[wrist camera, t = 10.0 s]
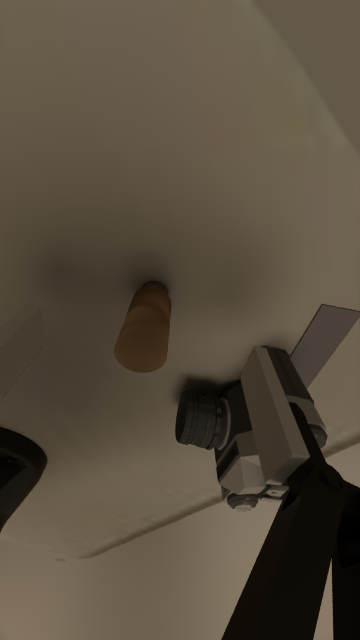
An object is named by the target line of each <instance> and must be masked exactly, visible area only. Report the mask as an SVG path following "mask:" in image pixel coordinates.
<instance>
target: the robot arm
mask: <svg viewBox="0 0 360 640" xmlns="http://www.w3.org/2000/svg"><path fill="white" fill-rule="evenodd" d="M45 343H46V342H45V336H44V329H43V323H42V316H41V310H40V307H34V306H28V305H26V306H25V307H24V308H23V309H22V310H21V311H20V312H19V313H17V314H16V315H15V316H14V317H13V318H12V319H11V320H10V321H9V322H7V323H6V324H5V325H4V326H3V327H2V328H1V329H0V401H1V400H2V399H3V398H4V396H5V395H6V394H7V392H8V391H9V390H10V389H11V387H12V386H13V385H14V383H15V382H16V381H17V380H18V378H19V377H20V376H21V374H22V373H23V372H24V370H25V369H26V368H27V367H28V365H29V364H30V363H31V361H32V360H33V359H34V358H35V356H36V355H37V354H38V352H39V351H40V350H41V349H42V347H43V346H44V345H45ZM240 378H241V383H242V387H243V391H244V395H245V400H246V404H247V408H248V413H249V417H250V421H251V425H252V430H253V434H254V438H255V443H256V447H257V451H258V456H259V460H260V464H261V468H262V473H263V477H264V481H265V484H272V485H280V486H281V485H282V484H283V483H284V482H285V481H286V480H287V483H288V487H289V489H288V490H287V491H286V492H285V493H284V494H282V495H281V497H280V498H279V499H280V500H282V499H283V500H282V503H281V505H280V507H279V509H278V512H277V514H276V516H275V518H274V521H273V523H272V525H271V528H270V530H269V532H268V534H267V537H266V539H265V541H264V544H263V546H262V548H261V550H260V553H259V555H258V557H257V559H256V562H255V564H254V566H253V569H252V571H251V573H250V575H249V578H248V580H247V582H246V585H245V587H244V589H243V591H242V594H241V596H240V598H239V600H238V603H237V605H236V607H235V610H234V612H233V614H232V616H231V619H230V621H229V623H228V625H227V628H226V630H225V632H224V635H223V637H222V639H221V640H313V638H314V633H315V629H316V624H317V620H318V615H319V611H320V606H321V602H322V598H323V593H324V589H325V584H326V580H327V575H328V571H329V567H330V562H331V558H332V593H333V594H332V596H333V640H360V488H359V487H357V486H355V485H353V484H351V483H349V482H346V481H345V480H343V478H342V477H341V475H340V474H339V473H338V472H337V471H336V470H335V469H334V468H333V467H332V466H330V465H328V464H327V463H326V461H325V459H324V456H323V454H322V452H321V450H320V448H319V445H318V443H317V441H316V439H315V436H314V434H313V432H312V431H311V428H310V425H309V423H308V421H307V419H306V416H305V414H304V412H303V411H302V410H301V408H300V407H299V406H298V405H297V403H293V402H288V401H287V398H286V396H285V393H284V391H283V389H282V386H281V384H280V381H279V379H278V376H277V374H276V371H275V369H274V366H273V364H272V361H271V359H270V356H269V354H268V352H267V349H266V348H262V347H257V346H254V348H253V350H252V352H251V354H250V356H249V358H248V361H247V363H246V365H245V367H244V369H243V371H242V373H241V375H240ZM46 464H47V459H46V457H45V455H44V453H43V452H42V451H41V449H40V448H39V447H37V446H36V445H35V444H34V443H32V442H31V441H29V440H27V439H25V438H24V437H22V436H19V435H17V434H15V433H12V432H9V431H6V430H3V429H0V532H1V530H2V528H3V526H4V525H5V523H6V522H7V520H8V519H9V518H10V517H11V515H12V514H13V513H14V512H15V510H16V509H17V508H18V507H19V505H20V504H21V503H22V502H23V500H24V499H25V498H26V497H27V495H28V494H29V493H30V492H31V490H32V489H33V488H34V487H35V485H36V484H37V483H38V481H39V480H40V478H41V476H42V473H43V471H44V469H45V467H46Z"/></svg>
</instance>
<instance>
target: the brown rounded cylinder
mask: <svg viewBox="0 0 360 640" xmlns="http://www.w3.org/2000/svg"><path fill="white" fill-rule="evenodd" d="M170 315H171V300H170V298H169V296H168V291H167V289H166V287H165V286H164V285H163V284H162V283H160V282H158V281H149V282H147V283H145V284H144V285H143V286H142V288H141V289H140V290H139V291H137V292H136V293H135V295H134V297H133V299H132V302H131V304H130V307H129V310H128V312H127V315H126V318H125V321H124V323H123V326H122V329H121V331H120V334H119V337H118V339H117V342H116V345H115V348H114V353H115V357H116V359H117V360H118V362H119V363H120V364H121V365H122V366H124V367H125V368H127V369H129V370H131V371H135V372H141V373H145V372H152V371H155V370H157V369H159V368H160V367H161V366H162V365H163V364H164V363H165V361H166V358H167V350H168V338H169V327H170Z"/></svg>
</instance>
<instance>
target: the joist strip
mask: <svg viewBox="0 0 360 640" xmlns="http://www.w3.org/2000/svg"><path fill="white" fill-rule="evenodd" d="M359 317H360V312H359V311H354V310H349V309H344V308H338V307H333V306H328V305H323V304H322V305H321V307H320V308H319V310H318V312H317V313H316V315H315V317H314V318H313V320H312V322H311V323H310V325H309V326H308V328H307V330H306V331H305V333H304V335H303V336H302V338H301V340H300V341H299V343H298V344H297V346H296V348H295V349H294V351H293V353H292V354H291V356H290V359H291V361H292V363H293V365H294V367H295V369H296V370H297V372H298V374H299V376H300V378H301V380H302V381H303V383H304V385H305V387H306V389H307V388H308V386H309V385H310V384H311V382H312V381H313V380H314V378H315V377H316V376H317V374H318V373H319V371H320V370H321V369H322V367H323V366H324V365H325V363H326V362H327V361H328V359H329V358H330V357H331V355H332V354H333V352H334V351H335V350H336V348H337V347H338V346H339V344H340V343H341V342H342V340H343V339H344V338H345V336H346V335H347V333H348V332H349V331H350V329H351V328H352V327H353V325H354V324H355V323H356V321H357V320H358V319H359Z"/></svg>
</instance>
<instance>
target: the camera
mask: <svg viewBox="0 0 360 640" xmlns="http://www.w3.org/2000/svg"><path fill="white" fill-rule="evenodd" d="M263 348H266V349H267V352H268V354H269V356H270V359H271V361H272V364H273V366H274V369H275V371H276V374H277V376H278V379H279V381H280V384H281V386H282V389H283V391H284V393H285V396H286V398H287V401H288V402H293V403H297V405H298V406H299V407H300V408H301V410H302V411H303V412H304V414H305V416H306V419H307V421H308V423H309V425H310V428H311V431H312V432H313V434H314V436H315V439H316V441H317V443H318V445H319V448H320V449H321V448H322V447H323V446H325V444H326V440H327V434H326V427H325V425H324V423H323V422H322V420H321V418H320V416H319V414H318V412H317V410H316V408H315V407H314V400H313V399H312V398H311V396H310V394H309V392H308V391H307V389H306V387H305V385H304V383H303V381H302V380H301V378H300V376H299V374H298V372H297V370H296V369H295V367H294V365H293V363H292V361H291V359H290V357H289V355H288V354H287V352H286V351H283V350H279V349H275V348H271V347H267V346H265V347H263ZM175 434H176V440H177V441H178V442H179V443H181V444H185V445H188V444H192V445H196V446H198V447H201V448H206V450H211V449H213V447H214V450H215V459H216V464H217V467H216V469H217V478H218V481H219V485H221V489H222V498H223V501H224V502H225V503H228V505H230V507H232V508H233V509H236V510H237V511H244V512H245V511H249V510H251V509H252V508H254V507H255V506H256V504H257V503H258V499H259V498H260V501H270V502H281V500H280V499H279V498H280V497H281V495H282V494H284V493H285V492H286V491H287V490H288V489H289V487H288V483H287V480H286V481H285V482H284V483H283V484H282V485H281V486H280V485H272V484H265V481H264V477H263V473H262V468H261V464H260V460H259V456H258V451H257V447H256V443H255V438H254V434H253V430H252V425H251V421H250V417H249V413H248V408H247V404H246V400H245V395H244V391H243V387H242V383H241V382H240V383H239V384H237V385H236V386H234V387H233V388H231V389H230V390H228V391H227V392H225V393H224V394H223V395H221V397H220V399H218V397H217V396H216V395H214V394H212V395H208V394H202V395H199V394H195V393H194V392H184V393H183V394H182V397H181V399H180V402H179V406H178V411H177V417H176V428H175Z"/></svg>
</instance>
